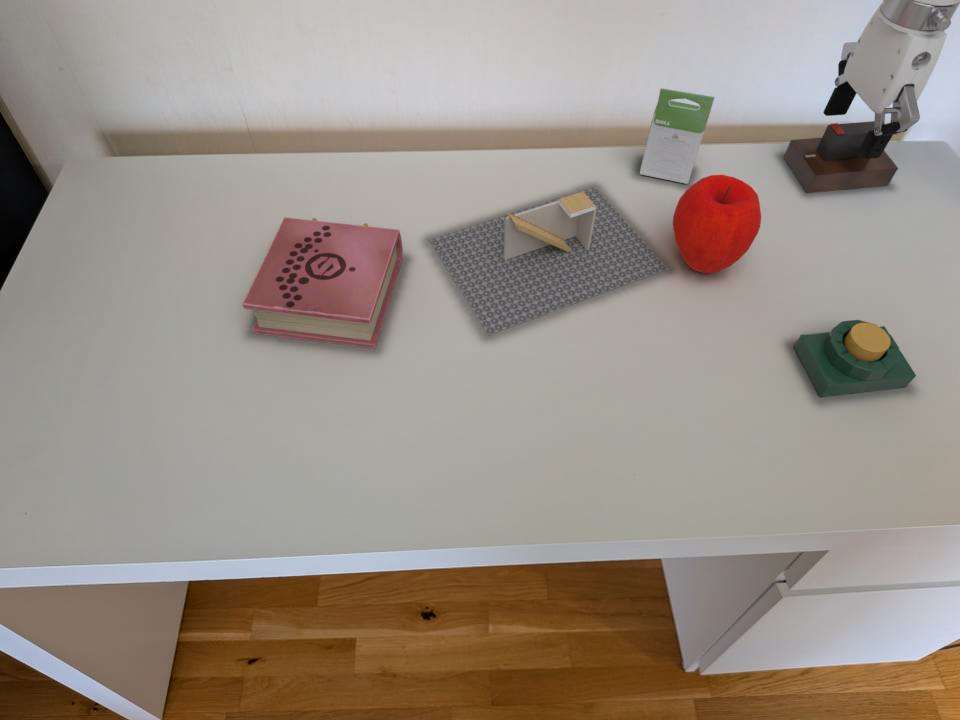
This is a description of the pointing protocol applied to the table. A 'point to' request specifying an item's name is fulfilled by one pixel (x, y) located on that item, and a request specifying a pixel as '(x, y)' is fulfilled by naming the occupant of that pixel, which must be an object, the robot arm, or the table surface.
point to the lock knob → (843, 140)
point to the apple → (716, 222)
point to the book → (326, 282)
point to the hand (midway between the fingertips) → (850, 135)
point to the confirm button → (867, 342)
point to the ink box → (675, 135)
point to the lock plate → (836, 169)
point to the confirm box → (850, 364)
